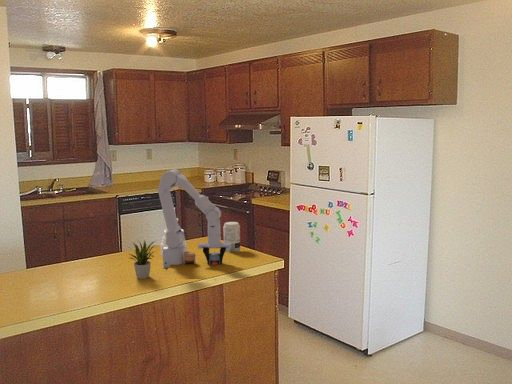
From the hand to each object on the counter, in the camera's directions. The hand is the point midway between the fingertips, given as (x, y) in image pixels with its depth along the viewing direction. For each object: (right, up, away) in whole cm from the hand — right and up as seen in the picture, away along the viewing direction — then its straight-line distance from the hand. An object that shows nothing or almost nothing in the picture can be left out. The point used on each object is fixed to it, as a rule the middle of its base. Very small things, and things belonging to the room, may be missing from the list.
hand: (214, 263), depth 223 cm
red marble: (0, 0, 0) cm, 0 cm away
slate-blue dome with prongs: (0, -1, 0) cm, 1 cm away
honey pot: (-22, +1, +23) cm, 32 cm away
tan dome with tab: (-11, -1, +1) cm, 11 cm away
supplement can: (+7, +2, +24) cm, 25 cm away
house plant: (-28, -4, -13) cm, 31 cm away
